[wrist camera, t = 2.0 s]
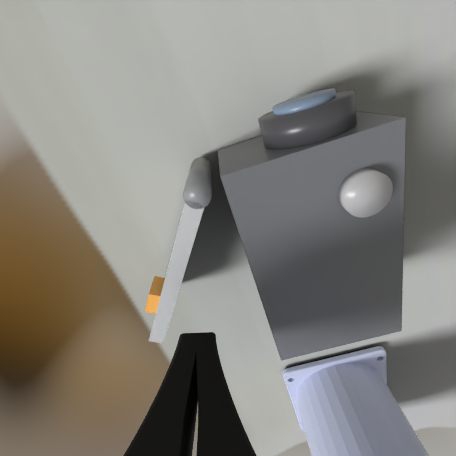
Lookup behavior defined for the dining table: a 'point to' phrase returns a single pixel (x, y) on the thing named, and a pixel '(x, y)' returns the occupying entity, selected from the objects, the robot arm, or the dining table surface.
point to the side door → (180, 248)
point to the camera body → (322, 219)
